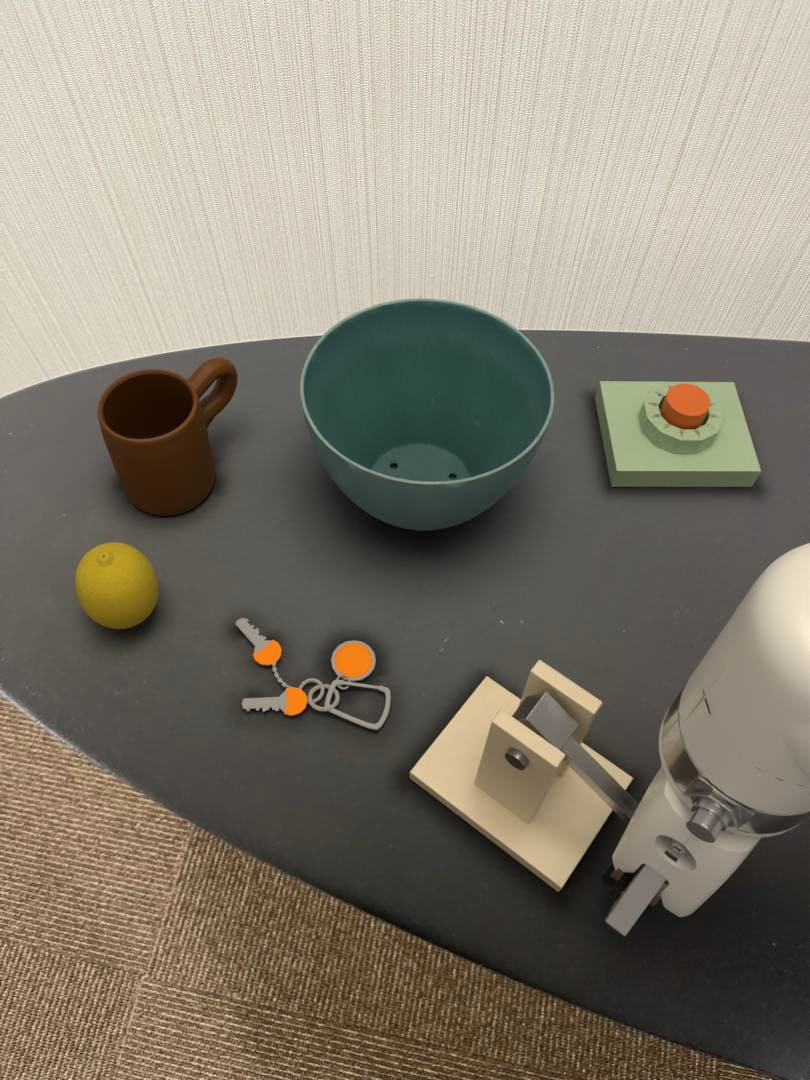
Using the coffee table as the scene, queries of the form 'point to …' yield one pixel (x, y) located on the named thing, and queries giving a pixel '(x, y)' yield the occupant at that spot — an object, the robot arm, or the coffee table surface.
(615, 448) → the button block
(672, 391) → the button
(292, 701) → the key chain
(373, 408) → the plant pot
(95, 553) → the lemon
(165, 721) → the coffee table surface
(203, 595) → the coffee table surface
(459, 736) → the bracket
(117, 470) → the mug
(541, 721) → the lever
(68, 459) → the coffee table surface
